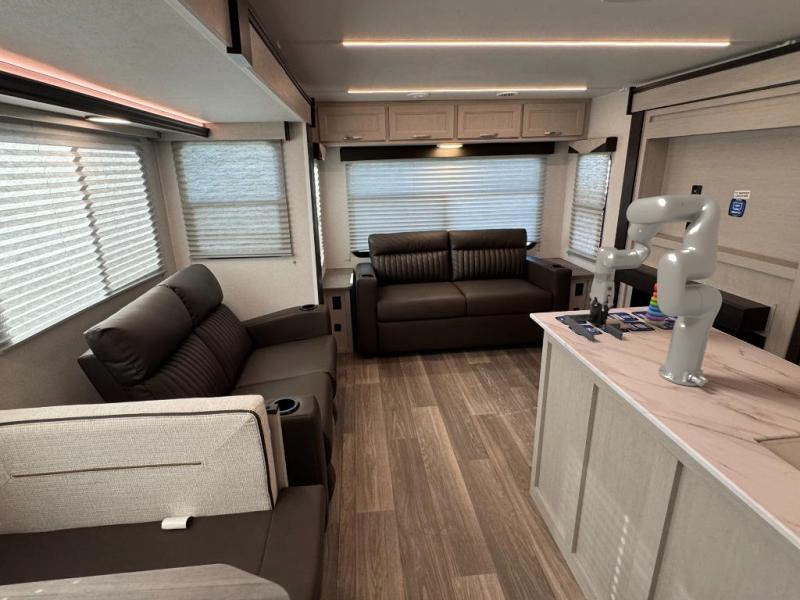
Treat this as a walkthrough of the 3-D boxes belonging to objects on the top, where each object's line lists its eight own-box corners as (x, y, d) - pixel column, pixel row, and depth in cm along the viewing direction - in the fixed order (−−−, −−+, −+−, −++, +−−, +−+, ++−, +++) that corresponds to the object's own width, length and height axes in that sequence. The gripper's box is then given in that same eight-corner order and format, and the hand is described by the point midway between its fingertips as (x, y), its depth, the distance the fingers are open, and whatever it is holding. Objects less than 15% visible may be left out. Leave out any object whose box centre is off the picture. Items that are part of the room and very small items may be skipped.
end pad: (630, 328, 173) (630, 327, 173) (604, 329, 172) (604, 328, 172) (616, 319, 183) (616, 318, 183) (591, 321, 182) (591, 320, 181)
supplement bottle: (600, 319, 180) (604, 294, 176) (609, 325, 173) (613, 298, 169) (585, 320, 179) (589, 294, 176) (593, 326, 173) (597, 299, 169)
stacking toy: (668, 326, 175) (677, 284, 169) (650, 326, 175) (658, 284, 169) (658, 319, 182) (666, 279, 176) (640, 319, 182) (647, 279, 177)
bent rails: (634, 339, 162) (635, 332, 161) (591, 341, 160) (592, 335, 160) (601, 319, 184) (602, 313, 183) (563, 321, 182) (563, 315, 181)
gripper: (625, 281, 162) (618, 322, 167) (600, 271, 178) (594, 309, 184) (608, 282, 161) (601, 323, 167) (584, 271, 177) (579, 310, 183)
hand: (598, 315), depth 175 cm, fingers closed on supplement bottle, 6 cm apart
